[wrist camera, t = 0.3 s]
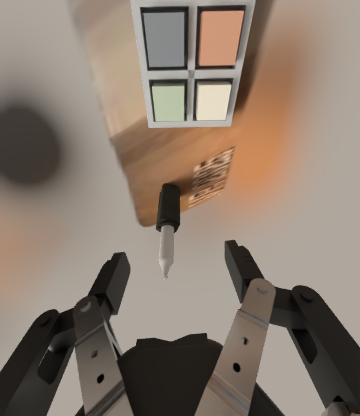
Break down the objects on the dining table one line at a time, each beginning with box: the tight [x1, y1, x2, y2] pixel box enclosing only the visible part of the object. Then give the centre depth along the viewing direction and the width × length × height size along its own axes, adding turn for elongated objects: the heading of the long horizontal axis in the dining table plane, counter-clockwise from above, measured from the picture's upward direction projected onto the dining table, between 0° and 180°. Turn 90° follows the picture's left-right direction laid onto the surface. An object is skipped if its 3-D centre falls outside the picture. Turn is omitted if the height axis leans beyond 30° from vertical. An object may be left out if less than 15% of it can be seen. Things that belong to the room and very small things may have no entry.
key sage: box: [152, 82, 184, 121], centre depth 27 cm, size 5×5×3 cm
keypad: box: [130, 0, 256, 128], centre depth 26 cm, size 16×16×5 cm
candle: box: [156, 184, 180, 280], centre depth 39 cm, size 5×5×25 cm
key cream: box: [196, 81, 231, 120], centre depth 27 cm, size 5×5×3 cm
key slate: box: [143, 12, 184, 67], centre depth 22 cm, size 5×5×3 cm
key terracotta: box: [198, 11, 244, 66], centre depth 22 cm, size 5×5×3 cm
